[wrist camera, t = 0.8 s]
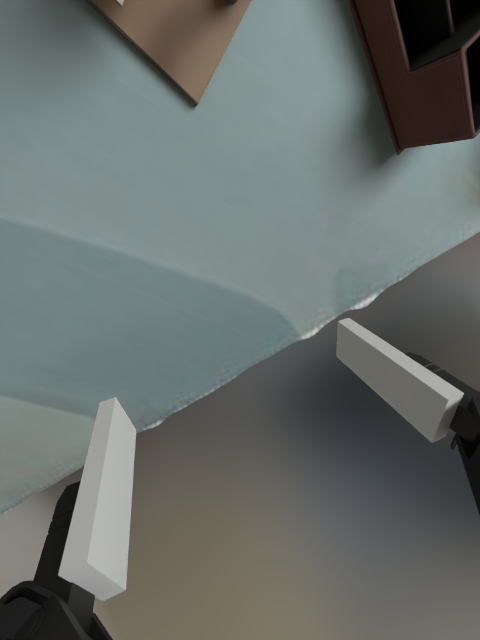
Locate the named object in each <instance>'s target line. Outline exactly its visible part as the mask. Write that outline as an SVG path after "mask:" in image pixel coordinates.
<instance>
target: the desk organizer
mask: <svg viewBox="0 0 480 640" xmlns="http://www.w3.org/2000/svg"><path fill="white" fill-rule="evenodd" d="M348 1H349V4H350V7H351V10H352V13H353V16H354V20H355V23H356V26H357V29H358V32H359V35H360V38H361V41H362V44H363V47H364V50H365V54H366V57H367V60H368V63H369V67H370V70H371V73H372V76H373V79H374V82H375V86H376V89H377V92H378V95H379V98H380V101H381V105H382V108H383V111H384V114H385V117H386V120H387V123H388V126H389V129H390V132H391V136H392V139H393V142H394V145H395V148H396V151H397V154H398V155H399V154H400V153H401V152H402V151H403V150H404V149H406V148H411V147H418V146H425V145H432V144H440V143H447V142H454V141H460V140H467V139H473V138H475V137H476V136H477V135H478V134H479V133H480V0H348Z"/></svg>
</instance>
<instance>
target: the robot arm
mask: <svg viewBox="0 0 480 640" xmlns="http://www.w3.org/2000/svg"><path fill="white" fill-rule="evenodd" d="M336 356H337V357H338V358H339V359H340V360H341V361H342V362H343V363H344V364H345V365H347V366H348V367H349V368H350V369H351V370H352V371H353V372H354V373H355V374H356V375H358V376H359V377H360V378H361V379H362V380H363V381H364V382H365V383H367V384H368V385H369V386H370V387H371V388H372V389H373V390H374V391H375V392H376V393H377V394H379V395H380V396H381V397H382V398H383V399H384V400H385V401H386V402H387V403H389V404H390V405H391V406H392V407H393V408H394V409H395V410H396V411H397V412H398V413H400V414H401V415H402V416H403V417H404V418H405V419H406V420H407V421H408V422H410V423H411V424H412V425H413V426H414V427H415V428H416V429H417V430H418V431H419V432H420V433H422V434H423V435H424V436H425V437H426V438H427V439H428V440H430V441H431V442H432V443H433V442H435V441H437V440H439V439H441V438H443V437H445V436H446V434H447V432H448V430H449V427H450V428H451V429H452V430H453V431H455V432H456V434H455V436H454V438H453V440H452V442H451V449H452V450H454V448H455V446H456V444H457V445H458V448H459V452H460V455H461V458H462V461H463V464H464V468H465V471H466V474H467V477H468V480H469V483H470V486H471V490H472V493H473V496H474V499H475V502H476V505H477V508H478V512H479V515H480V391H479V392H478V391H477V390H475V389H473V388H471V387H470V386H468V385H466V384H465V383H463V382H461V381H460V380H458V379H457V378H455V377H454V376H452V375H450V374H449V373H447V372H446V371H444V370H441V369H440V368H439V367H438V366H436V365H434V364H432V363H431V362H429V361H428V360H426V359H424V358H423V357H421V356H419V355H416V354H413V353H410V352H409V353H406V354H403V353H402V352H400V351H399V350H397V349H396V348H394V347H393V346H391V345H390V344H388V343H387V342H385V341H384V340H382V339H380V338H379V337H377V336H376V335H374V334H373V333H371V332H370V331H368V330H367V329H365V328H364V327H362V326H360V325H359V324H358V323H356V322H354V321H353V320H351V319H350V318H346V319H343V320H340V321H338V331H337V354H336ZM135 438H136V429H135V428H134V426H133V424H132V423H131V421H130V420H129V418H128V416H127V415H126V413H125V412H124V410H123V408H122V407H121V405H120V403H119V402H118V400H117V399H116V397H114V398H111V399H108V400H105V401H103V402H100V404H99V409H98V413H97V417H96V421H95V425H94V429H93V433H92V437H91V442H90V446H89V450H88V454H87V458H86V462H85V466H84V471H83V475H82V479H81V481H79V482H77V483H74V484H71V485H69V486H67V487H66V489H65V490H64V492H63V493H62V495H61V497H60V499H59V500H58V502H57V504H56V508H55V511H54V515H53V518H52V519H53V521H52V522H51V524H50V528H49V531H48V533H49V534H48V535H47V537H46V541H45V544H44V548H43V551H42V554H41V558H40V561H39V564H38V567H37V571H36V574H35V577H34V580H33V581H23V582H21V583H19V584H18V585H16V586H14V587H12V588H11V589H10V590H9V591H8V592H7V593H6V594H5V595H4V596H3V597H1V599H0V640H113V639H112V638H111V636H110V635H109V633H108V632H107V630H106V629H105V627H104V626H103V624H102V623H101V622H100V620H99V619H98V617H97V616H96V614H94V613H93V605H94V599H95V597H96V598H98V599H100V600H101V601H104V600H106V599H108V598H110V597H112V596H114V595H117V594H119V593H121V592H123V591H125V590H126V579H127V563H128V548H129V532H130V516H131V501H132V485H133V470H134V454H135V440H136V439H135Z"/></svg>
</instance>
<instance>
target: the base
mask: <svg viewBox="0 0 480 640" xmlns="http://www.w3.org/2000/svg"><path fill="white" fill-rule="evenodd" d="M87 1H88V2H89V3H90V4H91V5H92V6H93V7H94V8H95V9H96V10H97V11H98V12H99V13H100V14H101V15H103V16H104V17H105V18H106V19H107V20H108V21H109V22H110V23H111V24H112V25H113V26H114V27H115V28H116V29H117V30H118V31H119V32H120V33H121V34H122V35H123V36H125V37H126V38H127V39H128V40H129V41H130V42H131V43H132V44H133V45H134V46H135V47H136V48H137V49H138V50H139V51H140V52H141V53H142V54H143V55H144V56H145V57H147V58H148V59H149V60H150V61H151V62H152V63H153V64H154V65H155V66H156V67H157V68H158V69H159V70H160V71H161V72H162V73H163V74H164V75H165V76H166V77H167V78H168V79H170V80H171V81H172V82H173V83H174V84H175V85H176V86H177V87H178V88H179V89H180V90H181V91H182V92H183V93H184V94H185V95H186V96H187V97H188V98H189V99H190V100H192V101H193V102H194V103H195V104H196V105H198V103H199V101H200V99H201V97H202V95H203V93H204V91H205V89H206V87H207V85H208V83H209V81H210V79H211V77H212V76H213V74H214V72H215V70H216V68H217V66H218V64H219V62H220V60H221V58H222V56H223V54H224V52H225V50H226V48H227V46H228V44H229V42H230V40H231V39H232V37H233V35H234V33H235V31H236V29H237V27H238V25H239V23H240V21H241V19H242V17H243V15H244V13H245V11H246V9H247V7H248V5H249V3H250V2H251V0H87Z"/></svg>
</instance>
